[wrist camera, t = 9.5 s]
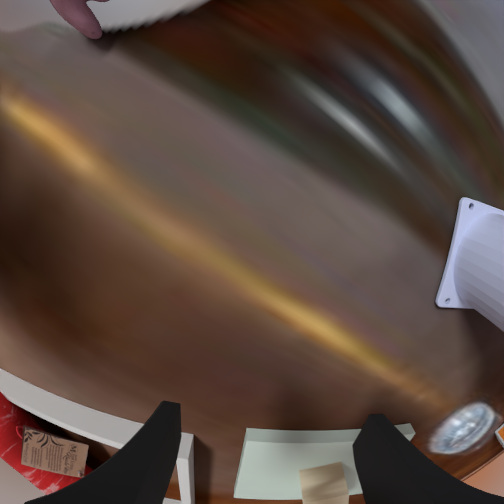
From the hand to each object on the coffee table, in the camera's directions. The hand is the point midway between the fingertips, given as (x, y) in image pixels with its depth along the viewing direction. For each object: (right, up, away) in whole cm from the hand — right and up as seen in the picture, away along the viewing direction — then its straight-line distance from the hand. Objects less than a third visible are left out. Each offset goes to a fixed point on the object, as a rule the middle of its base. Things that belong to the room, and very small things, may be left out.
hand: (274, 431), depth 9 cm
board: (+6, -15, +14) cm, 21 cm away
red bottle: (-23, -16, +14) cm, 31 cm away
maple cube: (+6, -15, +12) cm, 20 cm away
